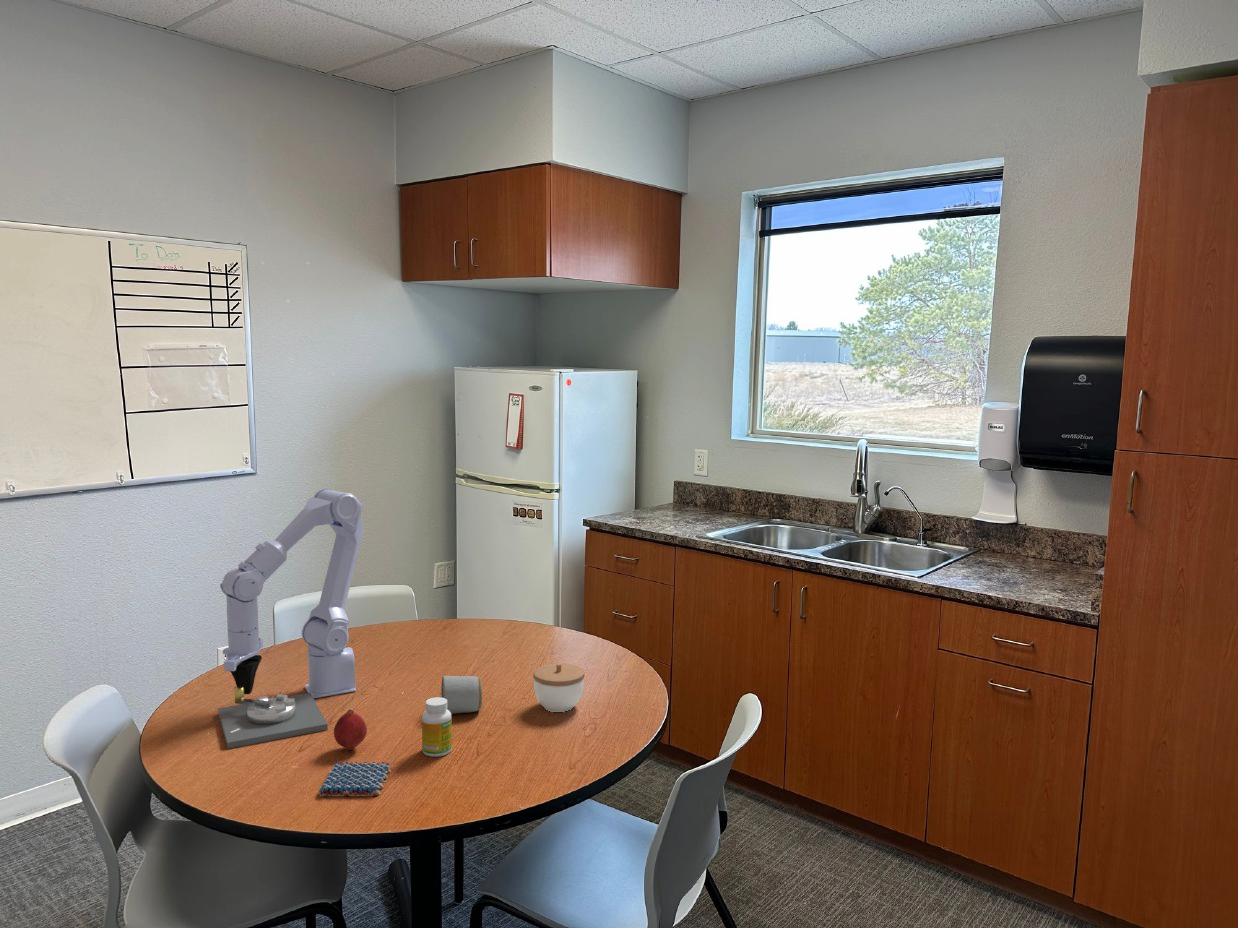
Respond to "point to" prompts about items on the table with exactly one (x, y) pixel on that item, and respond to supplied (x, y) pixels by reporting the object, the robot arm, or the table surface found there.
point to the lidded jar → (558, 686)
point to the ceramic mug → (462, 693)
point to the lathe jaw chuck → (266, 708)
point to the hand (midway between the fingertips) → (245, 692)
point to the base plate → (247, 733)
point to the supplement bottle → (436, 728)
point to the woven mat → (355, 779)
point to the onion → (350, 730)
